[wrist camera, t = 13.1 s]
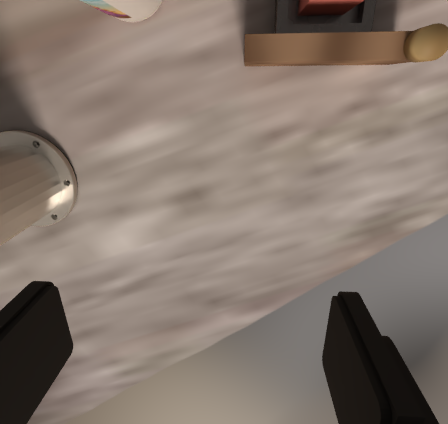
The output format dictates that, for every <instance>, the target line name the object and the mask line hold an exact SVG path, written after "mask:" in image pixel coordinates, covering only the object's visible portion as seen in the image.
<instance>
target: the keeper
mask: <svg viewBox="0 0 448 424" xmlns="http://www.w3.org/2000/svg"><path fill="white" fill-rule="evenodd" d="M298 3H299V0H276V13H275V33H274V34H284V33H339V32H371V30H372V24H373V17H374V11H375V5H376V0H364V1H362V2H361V3H360V4H358V5H357V6H355V7H354V8H352V9H351V10H349V11H348V12H346V13H345V14H344V15H322V16H298Z"/></svg>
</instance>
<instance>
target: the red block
mask: <svg viewBox="0 0 448 424" xmlns="http://www.w3.org/2000/svg"><path fill="white" fill-rule="evenodd" d="M362 1H364V0H299V3H298V16H322V15H344V14H345V13H346V12H348V11H349V10H351V9H352V8H354V7H355V6H357V5H358V4H360V3H361V2H362Z"/></svg>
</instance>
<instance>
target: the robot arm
mask: <svg viewBox="0 0 448 424" xmlns="http://www.w3.org/2000/svg"><path fill="white" fill-rule="evenodd" d="M77 189H78V187H77V181H76V177H75V174H74V171H73V169H72V167H71V165H70V163H69V161H68V160H67V158H66V157H65V156H64V155H63V153H62V152H61V151H60V150H59V149H58V148H57V147H56V146H55V145H53V144H52V143H51V142H49V141H48V140H46V139H45V138H43V137H41V136H39V135H37V134H34V133H30V132H27V131H20V130H12V131H5V132H1V133H0V246H1V245H3V244H4V243H6V242H7V241H9V240H10V239H11V238H13V237H14V236H16V235H17V234H19V233H20V232H22V231H23V230H25V229H26V228H28V227H29V226H36V227H41V226H48V225H52V224H55V223H57V222H59V221H60V220H62V219H63V218H64V217H66V216H67V215H68V214H69V213H70V212H71V210H72V209H73V207H74V205H75V202H76V199H77ZM72 350H73V342H72V338H71V334H70V331H69V327H68V323H67V320H66V316H65V312H64V309H63V305H62V301H61V298H60V294H59V290H58V288H57V287H56V286H54V284H53V283H52V282H46V281H33V282H31V283H30V284H28V285H27V286H26V287H25V288H24V289H23V290H22V291H21V292H20V293H19V294H18V295H17V296H16V297H15V298H13V299H12V300H11V301H10V302H9V303H8V304H7V305H6V306H5V307H4V308H3V309H2V310H1V311H0V424H27V422H28V421H29V419H30V418H31V416H32V415H33V413H34V411H35V410H36V408H37V407H38V405H39V404H40V402H41V401H42V399H43V397H44V396H45V394H46V393H47V391H48V390H49V388H50V386H51V385H52V383H53V382H54V380H55V379H56V377H57V376H58V374H59V372H60V371H61V369H62V368H63V366H64V365H65V363H66V361H67V360H68V358H69V357H70V355H71V353H72ZM322 358H323V359H322V361H323V368H324V372H325V375H326V379H327V382H328V386H329V390H330V394H331V397H332V401H333V405H334V408H335V412H336V416H337V419H338V423H339V424H439V423H438V421H437V419H436V417H435V415H434V414H433V412H432V411H431V408H430V407H429V405H428V403H427V401H426V400H425V398H424V396H423V394H422V393H421V391H420V389H419V387H418V385H417V384H416V382H415V380H414V378H413V377H412V375H411V373H410V371H409V370H408V368H407V366H406V364H405V362H404V361H403V359H402V357H401V355H400V354H399V352H398V350H397V348H396V347H395V345H394V343H393V342H392V340H391V339H390V338H389V337H388V336H381V334H380V332H379V330H378V328H377V327H376V324H375V323H374V321H373V319H372V317H371V315H370V313H369V311H368V309H367V308H366V306H365V304H364V302H363V300H362V298H361V296H360V295H359V293H357V292H339V293H338V296H333V297H332V301H331V307H330V313H329V319H328V325H327V332H326V338H325V344H324V350H323V356H322Z"/></svg>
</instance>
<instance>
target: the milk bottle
mask: <svg viewBox="0 0 448 424" xmlns="http://www.w3.org/2000/svg"><path fill="white" fill-rule="evenodd" d="M80 1H82V2H84V3H86V4H88V5H90V6H92V7H94V8H96V9H98V10H100V11H102V12H104V13H106V14H108V15H111V16H113V17H115V18H117V19H120V20H122V21H126V22H139V21H143V20H145V19H147V18H149V17H150V16H152V15H153V14H154V13H155V12H156V11H157V10H158V8H159V7H160V5H161V3H162V1H163V0H80Z"/></svg>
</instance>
